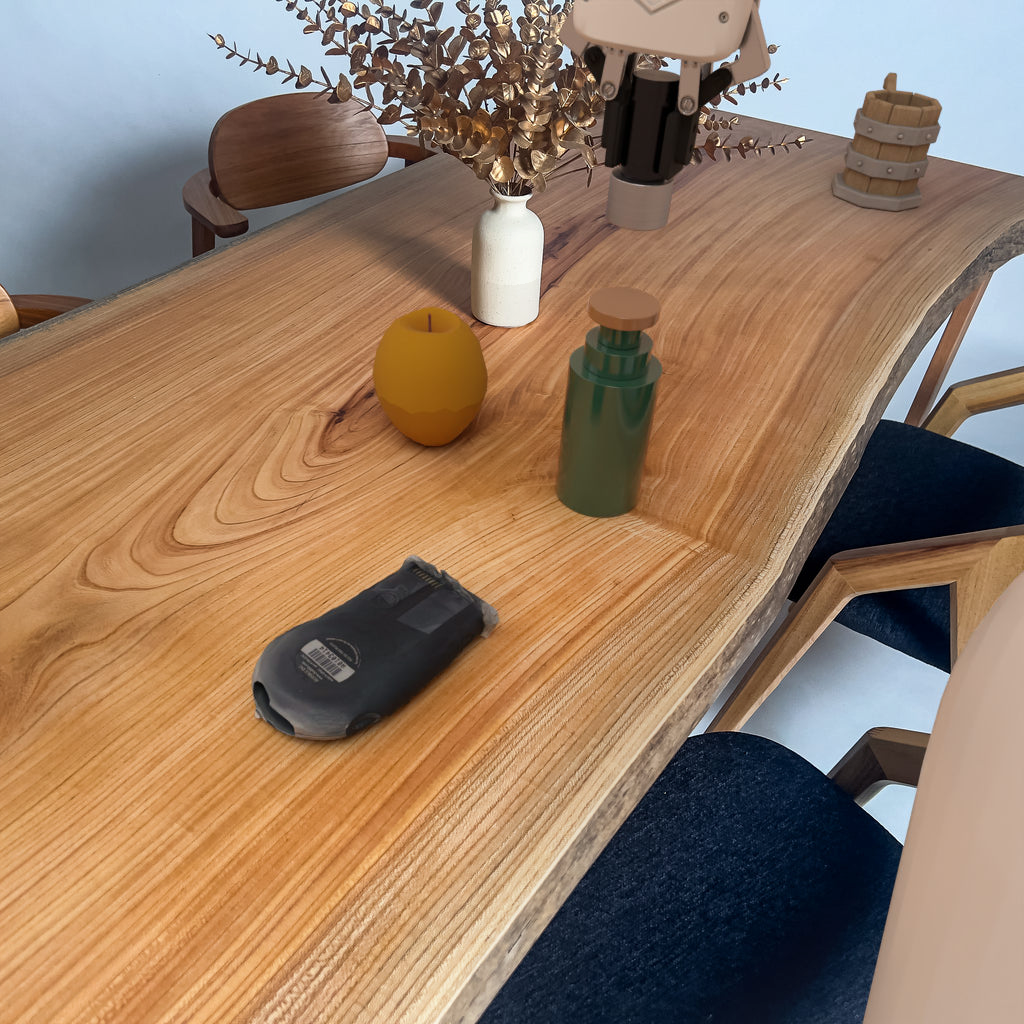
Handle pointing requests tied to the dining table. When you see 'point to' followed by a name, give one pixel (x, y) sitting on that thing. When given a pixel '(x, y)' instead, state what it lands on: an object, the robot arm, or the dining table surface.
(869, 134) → the tankard
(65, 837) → the dining table surface
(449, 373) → the apple
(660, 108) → the torch
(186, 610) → the dining table surface
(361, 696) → the electronic device
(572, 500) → the bottle
